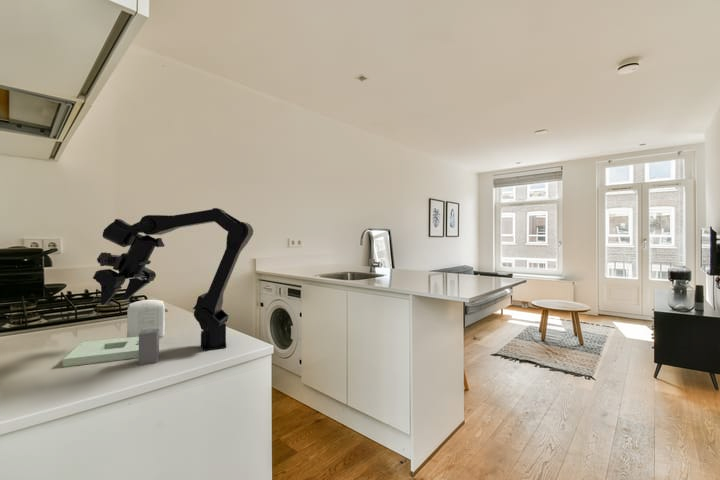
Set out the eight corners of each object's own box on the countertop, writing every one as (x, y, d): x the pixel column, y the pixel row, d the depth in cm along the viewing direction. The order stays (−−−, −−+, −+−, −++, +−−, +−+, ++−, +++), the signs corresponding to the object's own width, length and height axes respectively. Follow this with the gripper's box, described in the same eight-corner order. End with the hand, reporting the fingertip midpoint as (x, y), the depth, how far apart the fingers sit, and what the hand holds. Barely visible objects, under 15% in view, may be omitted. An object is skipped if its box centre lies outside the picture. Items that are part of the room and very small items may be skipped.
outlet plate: (155, 339, 104) (155, 332, 104) (147, 356, 89) (147, 348, 89) (84, 346, 96) (84, 339, 96) (62, 366, 82) (62, 358, 82)
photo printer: (164, 333, 110) (164, 297, 110) (165, 337, 106) (165, 299, 106) (127, 338, 104) (127, 300, 104) (126, 342, 101) (126, 302, 100)
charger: (158, 357, 89) (159, 328, 89) (156, 362, 85) (156, 332, 85) (141, 359, 87) (141, 329, 87) (138, 365, 83) (138, 334, 83)
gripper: (135, 242, 105) (112, 285, 104) (88, 241, 86) (61, 294, 86) (166, 257, 105) (143, 300, 105) (126, 260, 86) (99, 312, 86)
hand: (114, 301), depth 95 cm, fingers open, 9 cm apart
